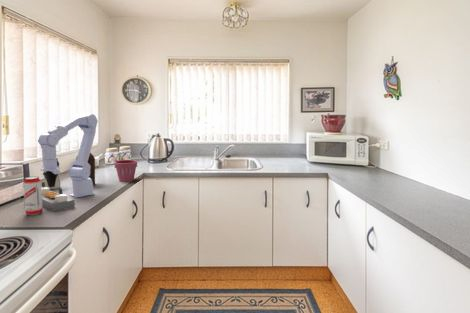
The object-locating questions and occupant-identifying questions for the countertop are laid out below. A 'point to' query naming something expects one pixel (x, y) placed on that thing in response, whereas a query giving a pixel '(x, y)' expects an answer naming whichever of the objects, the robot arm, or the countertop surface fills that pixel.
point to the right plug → (60, 196)
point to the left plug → (44, 190)
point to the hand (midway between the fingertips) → (51, 186)
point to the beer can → (33, 195)
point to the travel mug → (57, 183)
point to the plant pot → (125, 169)
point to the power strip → (56, 203)
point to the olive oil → (92, 169)
